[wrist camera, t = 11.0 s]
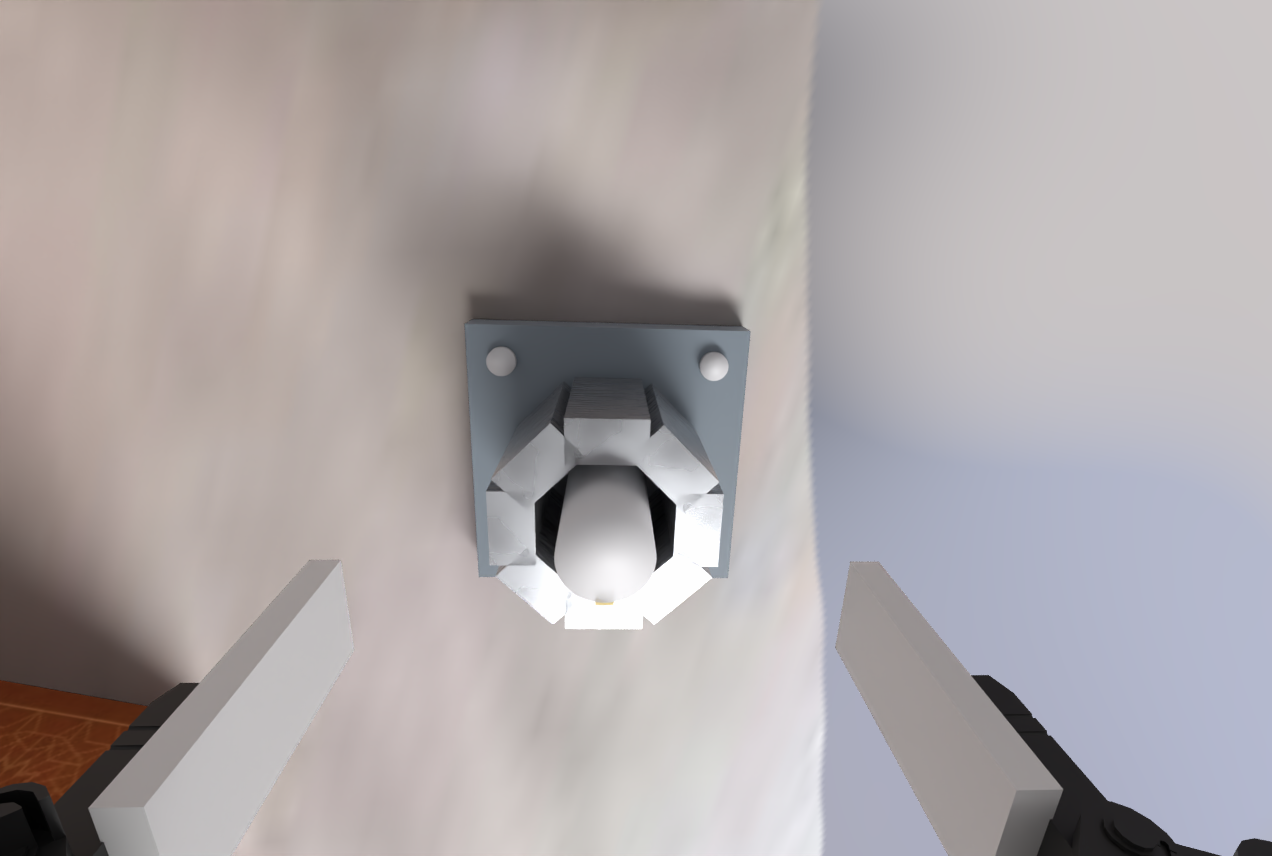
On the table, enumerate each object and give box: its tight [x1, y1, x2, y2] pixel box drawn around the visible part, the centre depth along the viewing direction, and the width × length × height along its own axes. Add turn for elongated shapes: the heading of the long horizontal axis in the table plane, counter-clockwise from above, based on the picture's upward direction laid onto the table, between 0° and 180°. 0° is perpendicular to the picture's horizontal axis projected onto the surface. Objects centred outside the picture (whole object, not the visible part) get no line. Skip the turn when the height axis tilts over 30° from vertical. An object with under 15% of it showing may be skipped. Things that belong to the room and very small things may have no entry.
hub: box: [486, 377, 724, 629], centre depth 23 cm, size 8×8×6 cm
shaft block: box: [465, 319, 750, 606], centre depth 23 cm, size 12×12×10 cm
